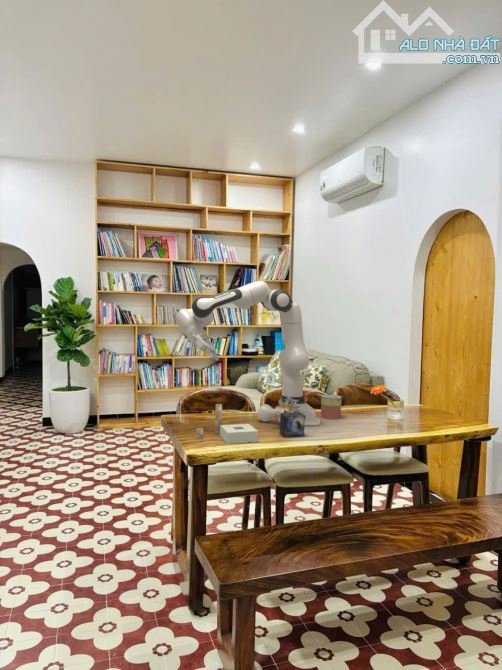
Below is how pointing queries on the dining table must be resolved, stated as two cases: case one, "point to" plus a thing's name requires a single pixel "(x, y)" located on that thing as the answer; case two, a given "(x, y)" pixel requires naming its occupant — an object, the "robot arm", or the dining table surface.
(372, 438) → the dining table surface
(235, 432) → the grey flat block
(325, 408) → the canned food
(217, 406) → the tall pin
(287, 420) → the small box
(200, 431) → the short pin
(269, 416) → the flower vase
